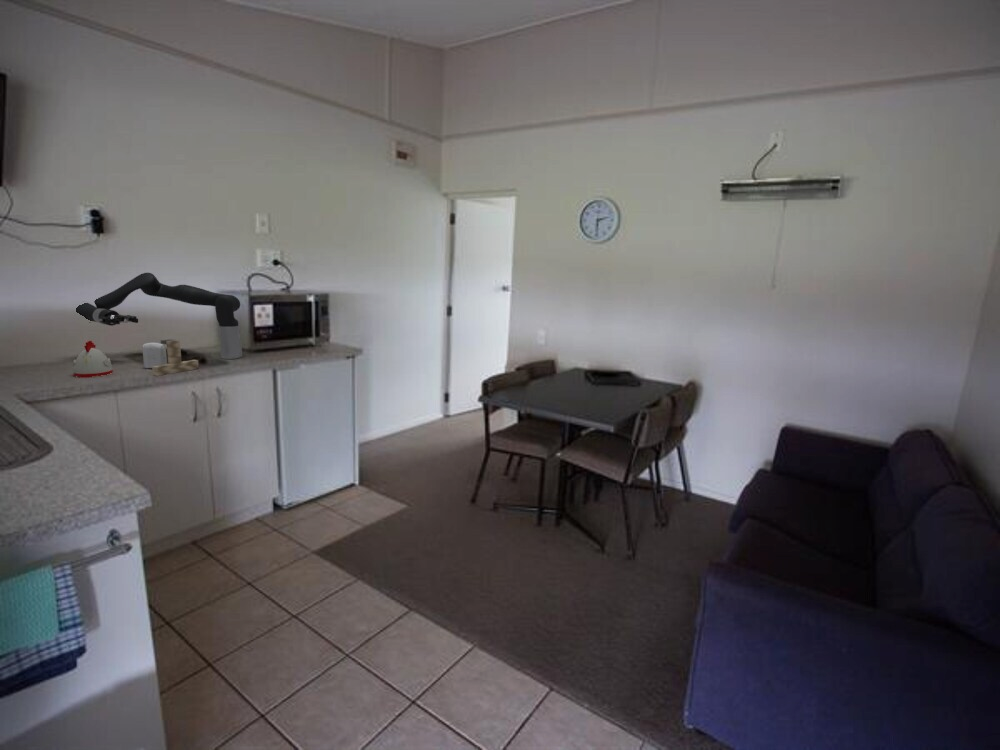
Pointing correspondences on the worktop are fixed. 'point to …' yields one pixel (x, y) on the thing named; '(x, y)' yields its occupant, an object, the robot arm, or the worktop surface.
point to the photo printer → (154, 354)
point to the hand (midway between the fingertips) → (128, 321)
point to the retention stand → (174, 360)
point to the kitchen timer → (91, 362)
